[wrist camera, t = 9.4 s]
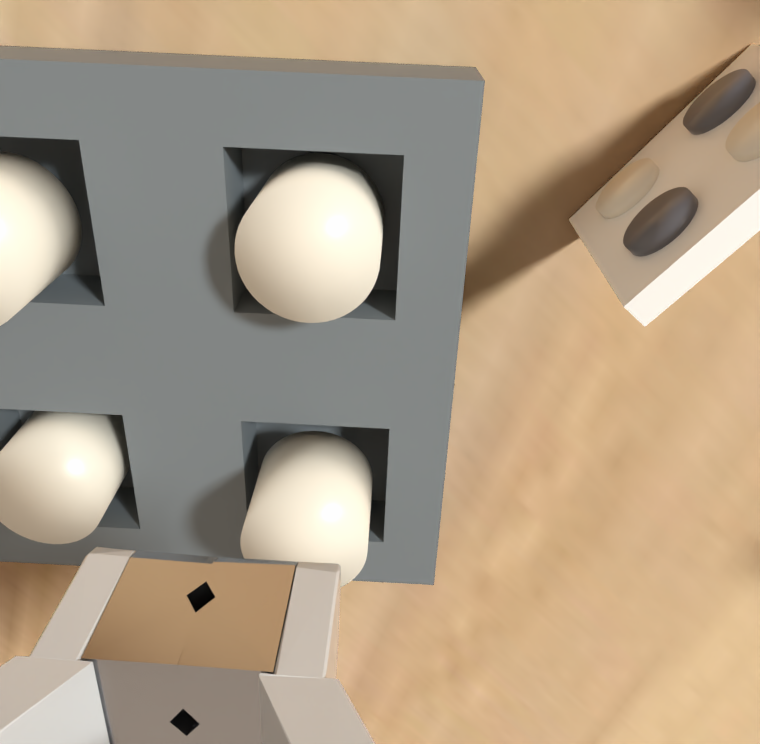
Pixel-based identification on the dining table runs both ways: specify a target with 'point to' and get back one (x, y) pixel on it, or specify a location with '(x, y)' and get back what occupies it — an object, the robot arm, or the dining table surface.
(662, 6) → the dining table surface
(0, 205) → the button
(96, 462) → the button
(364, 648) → the dining table surface
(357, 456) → the button
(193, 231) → the button board
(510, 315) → the dining table surface
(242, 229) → the button
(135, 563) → the robot arm
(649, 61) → the dining table surface
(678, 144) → the card
